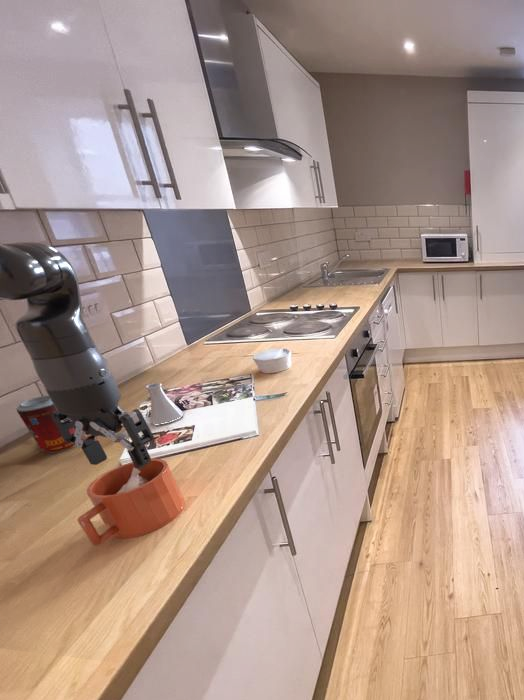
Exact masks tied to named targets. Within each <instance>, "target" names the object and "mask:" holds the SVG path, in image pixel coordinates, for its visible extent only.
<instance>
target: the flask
mask: <svg viewBox="0 0 524 700" xmlns="http://www.w3.org/2000/svg"><path fill="white" fill-rule="evenodd" d="M145 389H146V390H147V391H148V393H149V398H150V418H149V419H150V422H151V423H154V424H161V423H165V422H170V421H172V420H175V419H177V418H179V417H182V414H183V413H184V411H182V409H180V408H179V406H177V404H175V403H174V402H173V401H172V400H171V399H170V398H169V397H168V396H167V395H166V393H165V391H164V390H163V388H162V383H161V382H153V383H149V384H147V385H145Z"/></svg>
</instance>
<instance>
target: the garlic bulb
mask: <svg viewBox="0 0 524 700" xmlns="http://www.w3.org/2000/svg"><path fill="white" fill-rule="evenodd" d="M140 472H141V471H139V470H138V469H137V468H133V471H132V475H131V478H130V479H129V480H128V482H127V483H126V484H125V485H123V486H122V488H121V490H119V491H118V492H117V493H116V494H119V493H122V492H126V491H129V490H132V489H134V488H137V487H140V486H142V485H143V484H145V483H147V482H148V480H146V479H144V478H143V477H139V475H138V474H139V473H140Z"/></svg>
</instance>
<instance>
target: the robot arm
mask: <svg viewBox="0 0 524 700" xmlns="http://www.w3.org/2000/svg"><path fill="white" fill-rule="evenodd" d="M76 273H77V272H76V271H75V269H74V267H73V265H72V263H71V262H70V261H69V260H68V258H67V257H66V256H65V255H64V254H63V253H62V252H61V251H59V249H57V248H55V247H53V246H52V245H49V244H47V243H45V242H40V241H35V240H34V241H32V240H26V241H25V240H24V241H19V242H18V241H17V242H9V243H2V244H0V300H7V301H23V300H26V305H27V309H26V311H25V312H24V313H22V315H20V316H18V317H17V319H16V320H15V321H14V329H15V332H16V334H17V336H18V338H19V340H20V342H21V343H22V345H23V347H24V349H25V350H26V352H27V354H28V357H30V360H31V362H32V365H33V368H34V371H35V373H36V376H37V378H38V379H39V381H40V383H41V384H42V386H43V388H44V391H45V392H46V393H47V396H49V397H50V399H51V401H52V402H53V404H54V406H55V408H56V410H57V411H55V412H52V413H51V416H52V418H53V420H54V422H55V424H56V426H57V428H58V430H59V432H60V434H61V435H62V437H63V439H64V441H65V442H66V443H68V444H70V443H72V442H73V443H75V445H76V446H75V447H78V448H81V450H82V452H83V454H84V455H85V457H86V459H87V460H88V462H89V464H90V465H94V466H97V465H100V464H101V463H103V462H104V461H106V460H107V459H108V455H107V454H106V452H105V450H104V448H103V446H102V444H101V443H100V440H97V438H98V437H103V438H108V439H109V440H110V441H111V442H113V443H119V444H120V445H121V446H123V447H124V448H125V449H127V450H126V452H127V454H128V456H129V457H130V458H129V459H130V460H131V462H133V464H134V466H135V467H136V468H142V467H144V466H145V465H147V464H148V463H150V461H151V459H152V458H151V455H150V454H149V451H148V449H147V447H146V445H147V444H148V443H149V444H150V442H152V441H154V440H155V437H154V435H153V432H152V430H151V428H150V427H149V425H148V423H147V421H146V419H145V417H144V415H143V413H142V412H141V410H140V409H138V408H135V409H133V410H131V411H124V410H123V409H122V408H121V407H120V405H119V402H120V400H121V398H122V393H121V391H120V389H119V387H118V384H117V382H116V380H115V378H114V376H113V374H112V372H111V370H110V368H109V365H108V363H107V361H106V359H105V358H104V355H102V352H101V351H100V350H99V349H98V347H97V345H96V343H95V341H94V339H93V337H92V335H91V332H90V330H89V329H88V326H87V325H86V322H85V320H84V316H83V304H82V297H81V289H80V284H79V280H78V277H77V274H76ZM71 428H74V430H75V432H74V433H73V434H70V432H69V430H70V429H71ZM123 428H124V429H125V430H123V431H122V429H123ZM121 431H122V432H121ZM119 432H120V433H119ZM127 437H129V439H130V440H131V441H130V440H129V439H127Z"/></svg>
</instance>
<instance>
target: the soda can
mask: <svg viewBox="0 0 524 700" xmlns="http://www.w3.org/2000/svg"><path fill="white" fill-rule="evenodd" d="M55 411H57V410H56V408H55V406H54V404H53V402H52V401H51V399H50V397H49V395H42V396H37V397H33V398H30V399H27V400H25V401H23V402H21V403H20V404H19V405H18V406H17V408H16V413H18V416H19V417H20V418H21V420H22V422H23V423H24V425H25V426H26V428H27V430H28V432H29V434H30V435H31V436H32V439H34V441H35V443H36V445H37V446H38V447H39V449H41V450H43V451H46V453H49V454H55V453H61V452H65V451H68V450H70V449H73V448H74V447H77V446H76V445H75V443H73V442H72V443H70V444H68V443H66V442H65V441H64V439H63V437H62V435H61V434H60V432H59V430H58V428H57V426H56V424H55V422H54V420H53V418H52V416H51V413H52V412H55ZM69 432H70V434H73V433H74V432H75V430H74V428H71V429H70V430H69Z"/></svg>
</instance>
